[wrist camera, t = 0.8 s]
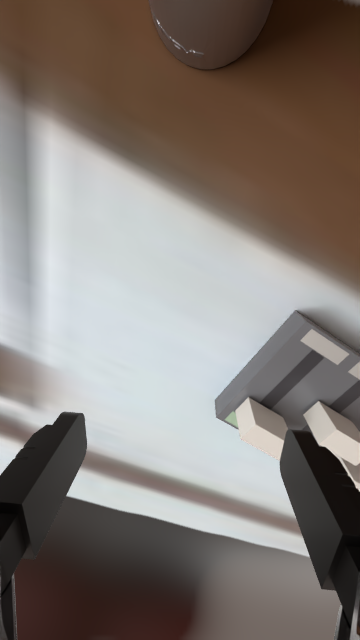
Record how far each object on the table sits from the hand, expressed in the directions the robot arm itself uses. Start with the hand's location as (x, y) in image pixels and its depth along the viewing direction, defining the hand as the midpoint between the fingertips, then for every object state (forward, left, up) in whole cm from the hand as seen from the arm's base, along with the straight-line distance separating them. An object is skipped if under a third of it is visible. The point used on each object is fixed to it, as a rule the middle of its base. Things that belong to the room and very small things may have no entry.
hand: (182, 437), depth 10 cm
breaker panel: (+3, +20, -19) cm, 28 cm away
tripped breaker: (+3, +20, -16) cm, 26 cm away
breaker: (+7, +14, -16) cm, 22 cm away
